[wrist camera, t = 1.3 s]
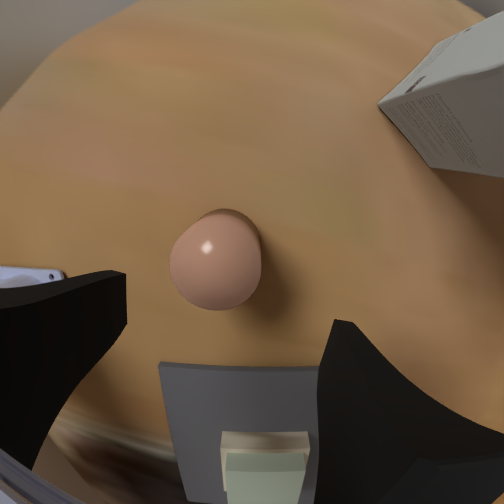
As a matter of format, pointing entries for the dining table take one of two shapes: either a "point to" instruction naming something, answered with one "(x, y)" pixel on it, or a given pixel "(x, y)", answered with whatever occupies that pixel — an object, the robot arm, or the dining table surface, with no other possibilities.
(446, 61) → the skincare box
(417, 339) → the dining table surface
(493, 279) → the dining table surface
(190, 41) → the dining table surface
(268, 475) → the sage slab
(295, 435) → the birch slab
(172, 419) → the charcoal mat
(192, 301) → the rounded pink dome
